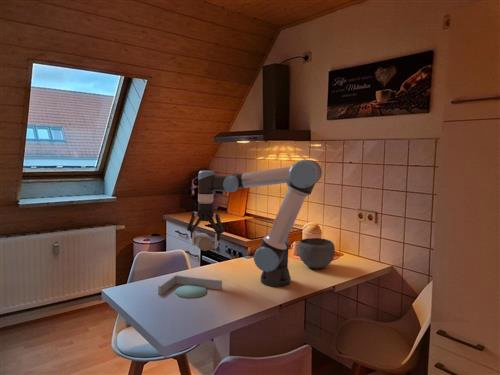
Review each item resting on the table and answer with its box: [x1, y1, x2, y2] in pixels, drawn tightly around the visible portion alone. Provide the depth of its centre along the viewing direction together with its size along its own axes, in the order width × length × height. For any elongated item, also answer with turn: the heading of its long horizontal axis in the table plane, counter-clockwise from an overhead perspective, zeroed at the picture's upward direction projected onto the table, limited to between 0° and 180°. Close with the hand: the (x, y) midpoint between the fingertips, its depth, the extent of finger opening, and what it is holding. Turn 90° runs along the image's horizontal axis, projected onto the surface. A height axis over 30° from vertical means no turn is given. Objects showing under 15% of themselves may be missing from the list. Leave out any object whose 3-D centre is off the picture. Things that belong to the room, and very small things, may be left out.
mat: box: [175, 285, 207, 299], centre depth 173 cm, size 14×14×1 cm
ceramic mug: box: [195, 232, 218, 252], centre depth 187 cm, size 11×8×8 cm
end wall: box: [157, 274, 177, 296], centre depth 176 cm, size 1×15×4 cm, turn 165°
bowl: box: [297, 237, 336, 270], centre depth 216 cm, size 21×21×15 cm
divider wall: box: [174, 274, 223, 291], centre depth 181 cm, size 24×1×4 cm, turn 75°
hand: (205, 246), depth 187 cm, fingers closed on ceramic mug, 11 cm apart
